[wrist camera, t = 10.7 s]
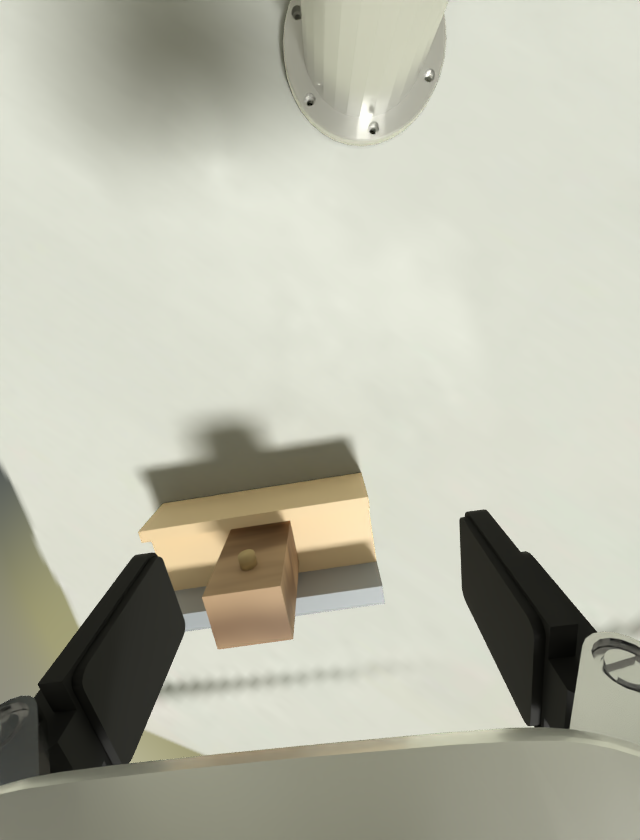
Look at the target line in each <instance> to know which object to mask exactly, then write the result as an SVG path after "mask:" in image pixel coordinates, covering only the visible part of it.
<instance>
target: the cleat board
mask: <svg viewBox="0 0 640 840" xmlns="http://www.w3.org/2000/svg"><path fill="white" fill-rule="evenodd" d="M369 508H370V506H369V500H368V495H367V491H366V488H365V484H364V481H363V477H362V474H361V473H355V474H349V475H342V476H336V477H330V478H323V479H317V480H310V481H304V482H297V483H291V484H285V485H278V486H272V487H265V488H259V489H252V490H246V491H239V492H233V493H227V494H220V495H214V496H207V497H201V498H194V499H188V500H182V501H175V502H169V503H163V504H162V505H161V506H160V507H159V509H158V510H157V511H156V512H155V513H154V514H153V515H152V517H151V518H150V519H149V520H148V521H147V522H146V523H145V525H144V526H143V527H142V528H141V529H140V530H139V532H138V533H139V536H140V539H141V542H142V543H144V542H151V541H152V544H153V547H154V550H155V553H156V554H157V555H158V557H162V558H163V560H164V563H165V566H166V569H167V572H168V575H169V577H170V580H171V583H172V586H173V589H174V591H175V594H176V597H177V600H178V603H179V605H180V608H181V611H182V614H183V617H184V620H185V631H192V630H200V629H207V628H211V625H210V622H209V619H208V616H207V612H206V609H205V606H204V603H203V599H202V596H203V593H204V591H205V589H206V586H207V584H208V582H209V579H210V577H211V575H212V572H213V570H214V568H215V565H216V563H217V561H218V558H219V556H220V554H221V551H222V549H223V547H224V544H225V542H226V540H227V537H228V535H229V533H230V530H231V529H237V528H243V527H250V526H257V525H263V524H270V523H277V522H283V521H290V522H291V527H292V531H293V536H294V541H295V545H296V550H297V555H298V560H299V573H298V585H297V597H296V609H295V616H300V615H307V614H314V613H321V612H329V611H336V610H343V609H350V608H357V607H364V606H372V605H379V604H385V600H384V593H383V586H382V582H381V578H380V574H379V570H378V566H377V561H376V555H375V548H374V541H373V534H372V527H371V520H370V513H369Z"/></svg>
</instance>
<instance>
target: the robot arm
mask: <svg viewBox="0 0 640 840" xmlns="http://www.w3.org/2000/svg"><path fill="white" fill-rule="evenodd" d="M448 2H449V0H290V3H289V6H288V10H287V14H286V19H285V23H284V35H283V51H284V63H285V69H286V74H287V79H288V82H289V86H290V89H291V92H292V95H293V97H294V99H295V101H296V103H297V104H298V106H299V108H300V110H301V111H302V113H303V114H304V115H305V117H306V118H307V119H308V121H309V122H310V123H311V124H312V125H313V126H314V127H315V128H317V129H318V130H319V131H320V132H321V133H322V134H324V135H326V136H328V137H329V138H331V139H333V140H335V141H338V142H341V143H344V144H347V145H355V146H367V145H374V144H379V143H381V142H384V141H387V140H389V139H392V138H393V137H395V136H396V135H398V134H400V133H401V132H403V131H404V130H405V129H406V128H407V127H408V126H409V125H411V124H412V123H413V122H414V121H415V120H416V119H417V117H418V116H419V115H420V113H421V112H422V111H423V109H424V108H425V107H426V105H427V103H428V101H429V99H430V97H431V95H432V93H433V91H434V89H435V87H436V85H437V82H438V80H439V77H440V74H441V70H442V66H443V62H444V58H445V47H446V24H445V16H444V12H445V9H446V7H447V4H448ZM297 19H299V20H297ZM426 80H428V81H429V82H427V81H426ZM309 103H312V104H313V105H312V106H308V104H309ZM370 131H374V132H375V134H371V133H370ZM460 548H461V575H462V591H463V595H464V598H465V601H466V603H467V605H468V607H469V609H470V611H471V613H472V615H473V617H474V620H475V622H476V624H477V626H478V628H479V630H480V632H481V634H482V636H483V638H484V640H485V642H486V644H487V646H488V648H489V650H490V652H491V654H492V656H493V659H494V661H495V663H496V665H497V667H498V669H499V671H500V673H501V675H502V677H503V679H504V681H505V683H506V685H507V687H508V689H509V691H510V693H511V695H512V697H513V700H514V702H515V704H516V706H517V708H518V710H519V712H520V714H521V716H522V718H523V720H524V722H525V723H526V724H527V725H528V726H534V727H535V728H503V729H489V730H475V731H461V732H447V733H435V734H424V735H413V736H402V737H391V738H380V739H369V740H358V741H347V742H337V743H326V744H316V745H306V746H296V747H285V748H275V749H265V750H255V751H245V752H235V753H225V754H215V755H205V756H196V757H186V758H178V759H167V760H158V761H148V762H139V763H129V762H130V761H131V759H132V757H133V755H134V753H135V750H136V748H137V745H138V743H139V741H140V738H141V736H142V733H143V731H144V729H145V726H146V724H147V721H148V719H149V717H150V714H151V712H152V710H153V707H154V705H155V702H156V700H157V698H158V695H159V693H160V690H161V688H162V686H163V683H164V681H165V678H166V676H167V674H168V671H169V669H170V666H171V664H172V662H173V659H174V657H175V654H176V652H177V650H178V647H179V645H180V643H181V640H182V638H183V635H184V632H185V620H184V617H183V614H182V611H181V608H180V605H179V603H178V600H177V597H176V594H175V591H174V589H173V586H172V583H171V580H170V577H169V575H168V572H167V569H166V566H165V563H164V560H163V558H162V557H158V555H157V554H156V553H147V554H139V555H135V556H134V557H133V558H132V559H131V560H130V562H129V563H128V564H127V566H126V567H125V568H124V570H123V571H122V572H121V574H120V575H119V576H118V578H117V579H116V580H115V582H114V583H113V584H112V586H111V587H110V588H109V590H108V591H107V592H106V594H105V595H104V596H103V598H102V599H101V600H100V602H99V603H98V604H97V606H96V607H95V608H94V610H93V611H92V612H91V614H90V615H89V616H88V618H87V619H86V620H85V622H84V623H83V624H82V626H81V627H80V628H79V630H78V631H77V633H76V634H75V635H74V636H73V638H72V639H71V640H70V642H69V643H68V644H67V646H66V647H65V649H64V650H63V651H62V653H61V654H60V655H59V657H58V658H57V659H56V660H55V662H54V663H53V664H52V666H51V667H50V669H49V670H48V671H47V672H46V674H45V675H44V676H43V678H42V679H41V680H40V682H39V683H38V686H39V688H40V690H39V692H38V693H37V695H36V696H35V697H34V698H33V697H31V696H19V697H16V698H13V699H10V700H8V701H6V702H4V703H2V704H0V840H640V641H638V640H636V639H633V638H631V637H629V636H626V635H622V634H619V633H615V632H598V633H597V631H596V630H595V629H594V628H593V627H592V626H591V624H590V623H589V622H588V621H587V620H586V618H585V617H584V616H583V615H582V614H581V612H580V611H579V610H578V609H577V608H576V607H575V605H574V604H573V603H572V602H571V601H570V599H569V598H568V597H567V596H566V595H565V594H564V592H563V591H562V590H561V589H560V588H559V586H558V585H557V584H556V583H555V582H554V580H553V579H552V578H551V577H550V576H549V575H548V573H547V572H546V571H545V570H544V569H543V567H542V566H541V565H540V564H539V563H538V561H537V560H536V559H535V558H534V557H533V556H532V555H531V554H530V553H528V552H526V551H525V552H520V551H519V549H518V548H517V547H516V546H515V544H514V543H513V542H512V541H511V540H510V538H509V537H508V536H507V535H506V533H505V532H504V531H503V530H502V528H501V527H500V526H499V525H498V523H497V522H496V521H495V520H494V518H493V517H492V516H491V515H490V514H489V512H488V511H487V510H477V511H470V512H466V513H465V517H462V518H460Z"/></svg>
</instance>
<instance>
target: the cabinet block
mask: <svg viewBox="0 0 640 840" xmlns="http://www.w3.org/2000/svg"><path fill="white" fill-rule="evenodd" d="M298 573H299V560H298V555H297V550H296V545H295V541H294V536H293V531H292V527H291V522H290V521H283V522H277V523H270V524H263V525H257V526H250V527H243V528H237V529H231V530H230V533H229V535H228V537H227V540H226V542H225V544H224V547H223V549H222V551H221V554H220V556H219V558H218V561H217V563H216V565H215V568H214V570H213V572H212V575H211V577H210V579H209V582H208V584H207V586H206V589H205V591H204V593H203V596H202V599H203V603H204V606H205V609H206V612H207V616H208V619H209V622H210V625H211V629H212V632H213V635H214V638H215V642H216V645H217V648H218V649H225V648H232V647H239V646H247V645H254V644H261V643H269V642H276V641H284V640H291V639H293V633H294V621H295V609H296V597H297V585H298Z"/></svg>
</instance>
